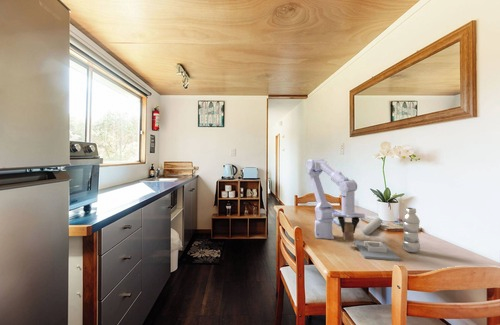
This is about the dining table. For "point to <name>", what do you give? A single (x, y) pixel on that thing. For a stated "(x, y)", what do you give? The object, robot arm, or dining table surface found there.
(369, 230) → the tube
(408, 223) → the plastic bottle
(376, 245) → the dock board
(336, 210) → the medicine box
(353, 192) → the robot arm
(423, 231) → the dining table surface
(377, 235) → the dining table surface
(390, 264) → the dining table surface
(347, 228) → the walnut block
